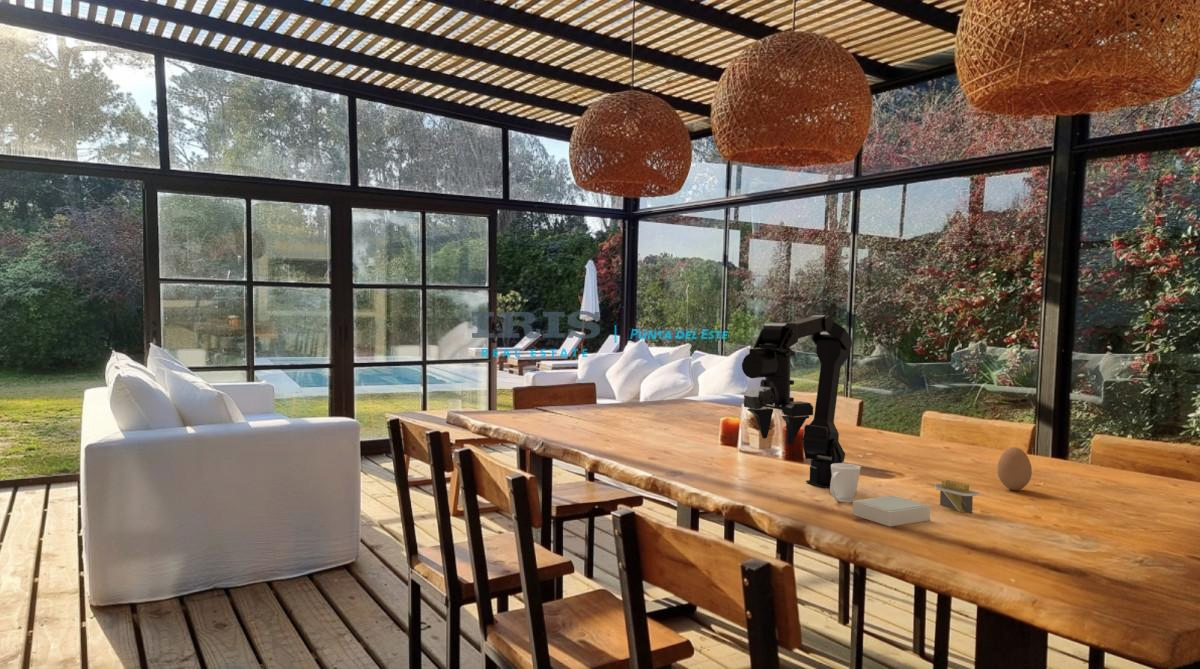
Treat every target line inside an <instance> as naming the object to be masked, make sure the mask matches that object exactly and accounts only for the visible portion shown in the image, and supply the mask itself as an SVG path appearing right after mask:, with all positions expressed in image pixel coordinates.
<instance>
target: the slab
mask: <svg viewBox="0 0 1200 669" xmlns="http://www.w3.org/2000/svg"><path fill="white" fill-rule="evenodd" d="M852 516H855V517H859V518H862V519H865V520H868V521H871V522H874V523H878V524H881V525H883V526H887V527H894V526H901V525H907V524H914V523H920V522H927V521H930V520H931V505H929V504H924V503H921V502H917V501H913V500H910V499H906V498H903V497H899V496H895V495H887V496H878V497H871V498H864V499H857V500H854V501H853V502H852Z"/></svg>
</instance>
